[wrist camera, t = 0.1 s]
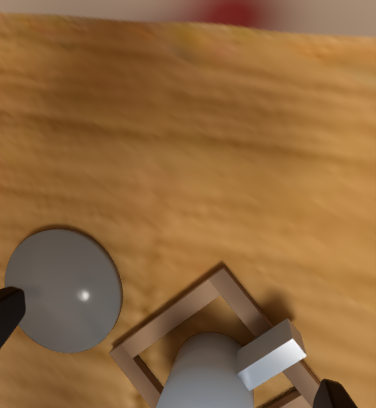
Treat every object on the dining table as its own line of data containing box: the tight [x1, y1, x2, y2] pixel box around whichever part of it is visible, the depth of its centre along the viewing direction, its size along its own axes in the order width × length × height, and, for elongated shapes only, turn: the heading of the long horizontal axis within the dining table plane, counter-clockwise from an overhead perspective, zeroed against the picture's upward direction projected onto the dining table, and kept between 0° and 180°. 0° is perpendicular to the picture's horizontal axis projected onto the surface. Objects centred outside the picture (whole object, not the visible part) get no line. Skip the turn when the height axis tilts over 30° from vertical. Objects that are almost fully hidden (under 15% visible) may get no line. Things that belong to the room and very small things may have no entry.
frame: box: [109, 265, 320, 408], centre depth 25 cm, size 13×13×1 cm
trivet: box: [5, 228, 123, 353], centre depth 27 cm, size 11×11×1 cm
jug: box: [156, 318, 307, 408], centre depth 22 cm, size 12×6×6 cm, turn 130°
